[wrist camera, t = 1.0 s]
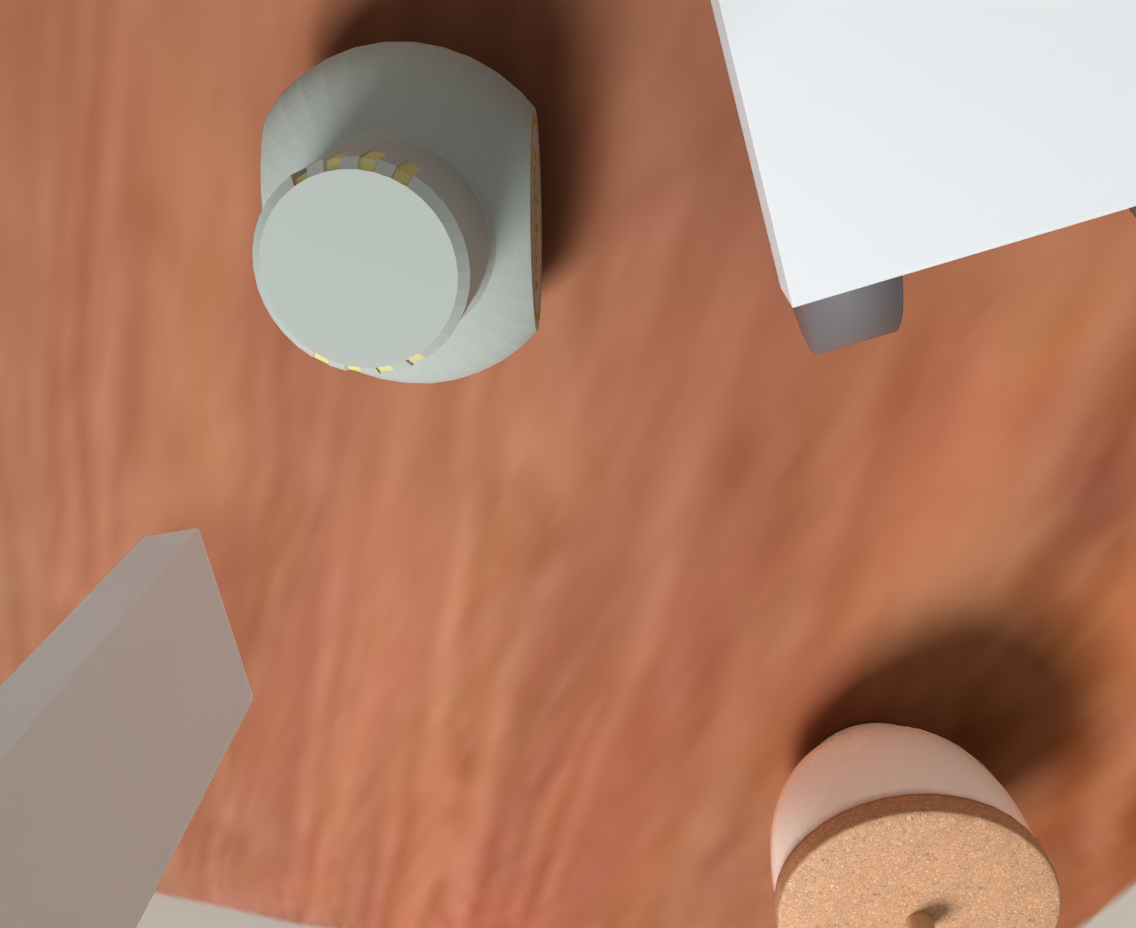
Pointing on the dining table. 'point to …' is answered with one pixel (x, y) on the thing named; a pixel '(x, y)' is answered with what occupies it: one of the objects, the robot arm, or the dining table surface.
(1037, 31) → the trolley
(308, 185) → the air freshener
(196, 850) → the dining table surface
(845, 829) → the lidded jar
